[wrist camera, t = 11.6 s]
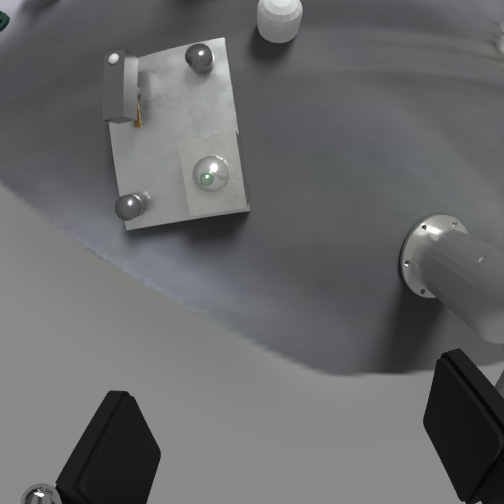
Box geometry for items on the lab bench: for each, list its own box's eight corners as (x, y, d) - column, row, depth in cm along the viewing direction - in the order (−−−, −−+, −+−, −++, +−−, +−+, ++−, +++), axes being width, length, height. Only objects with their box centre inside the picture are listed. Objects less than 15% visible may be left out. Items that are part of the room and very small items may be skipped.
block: (142, 122, 34) (122, 115, 28) (123, 125, 34) (101, 120, 28) (143, 62, 32) (124, 48, 26) (124, 66, 32) (103, 53, 26)
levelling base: (226, 45, 34) (216, 14, 25) (251, 207, 40) (247, 220, 31) (114, 74, 35) (79, 56, 26) (135, 225, 41) (102, 242, 32)
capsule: (306, 25, 33) (314, -2, 25) (281, 50, 34) (285, 26, 27) (274, 5, 32) (276, -25, 25) (249, 29, 34) (246, 1, 26)
